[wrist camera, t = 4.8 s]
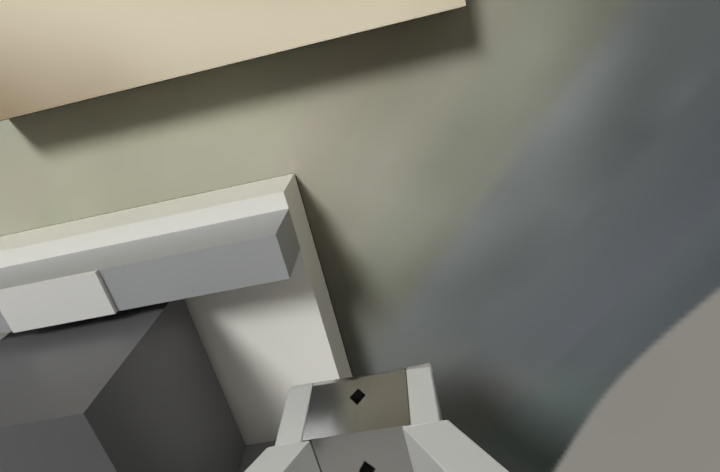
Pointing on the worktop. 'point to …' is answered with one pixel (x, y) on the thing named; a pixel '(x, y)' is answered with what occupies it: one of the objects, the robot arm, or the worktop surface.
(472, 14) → the worktop surface
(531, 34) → the worktop surface
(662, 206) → the worktop surface
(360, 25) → the coaster
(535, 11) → the worktop surface
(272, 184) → the switch panel
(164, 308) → the switch tab
